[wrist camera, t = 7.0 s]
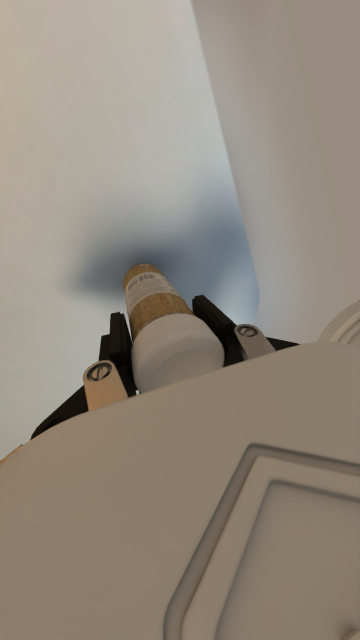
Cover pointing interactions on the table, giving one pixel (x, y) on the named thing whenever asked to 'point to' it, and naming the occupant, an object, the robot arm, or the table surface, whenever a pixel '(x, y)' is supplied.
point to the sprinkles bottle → (165, 332)
